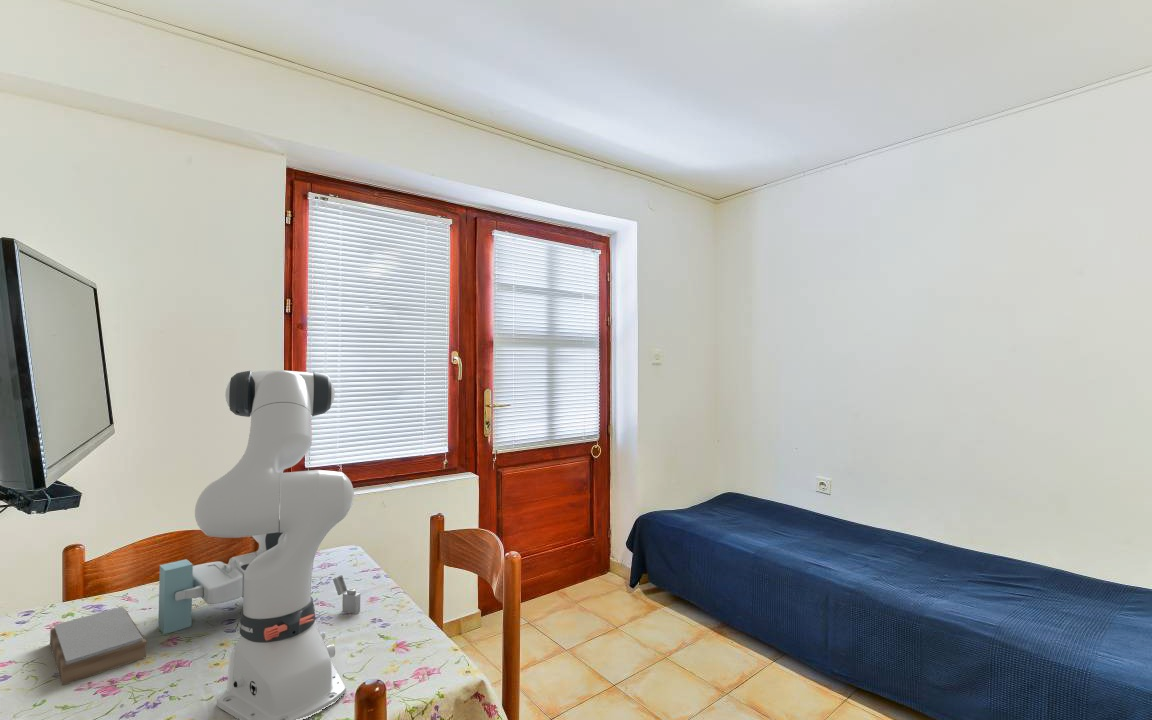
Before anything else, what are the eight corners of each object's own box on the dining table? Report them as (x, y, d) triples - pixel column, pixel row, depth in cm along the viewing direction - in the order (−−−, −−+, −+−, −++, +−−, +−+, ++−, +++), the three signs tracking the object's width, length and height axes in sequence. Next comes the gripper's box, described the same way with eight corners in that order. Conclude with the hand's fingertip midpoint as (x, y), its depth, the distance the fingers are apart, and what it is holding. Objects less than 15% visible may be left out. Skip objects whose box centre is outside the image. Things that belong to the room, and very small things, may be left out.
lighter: (360, 611, 123) (361, 578, 123) (355, 614, 121) (355, 580, 121) (337, 606, 125) (338, 574, 125) (332, 609, 124) (332, 576, 124)
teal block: (191, 626, 115) (192, 564, 116) (163, 634, 111) (165, 570, 112) (185, 619, 118) (186, 559, 119) (158, 627, 115) (159, 565, 115)
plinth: (145, 657, 103) (146, 637, 103) (61, 685, 93) (62, 663, 93) (124, 622, 117) (125, 605, 117) (49, 644, 107) (50, 625, 107)
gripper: (227, 551, 132) (160, 567, 121) (255, 571, 119) (183, 590, 108) (226, 575, 132) (159, 593, 121) (255, 598, 119) (182, 620, 108)
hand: (170, 592), depth 114 cm, fingers closed on teal block, 5 cm apart
